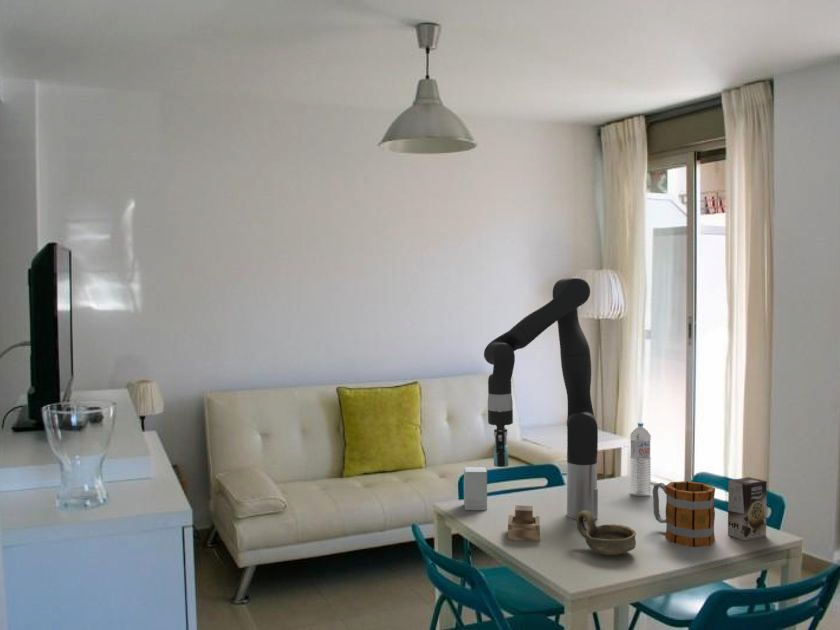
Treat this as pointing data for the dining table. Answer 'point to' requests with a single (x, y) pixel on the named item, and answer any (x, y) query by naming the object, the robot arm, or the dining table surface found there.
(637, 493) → the water bottle
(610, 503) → the dining table surface
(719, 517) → the dining table surface
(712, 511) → the mug
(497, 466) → the teal cylinder
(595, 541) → the bowl
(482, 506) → the supplement box
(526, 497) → the dining table surface
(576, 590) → the dining table surface
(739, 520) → the coffee box
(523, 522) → the walnut block
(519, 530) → the oak base
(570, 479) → the robot arm
